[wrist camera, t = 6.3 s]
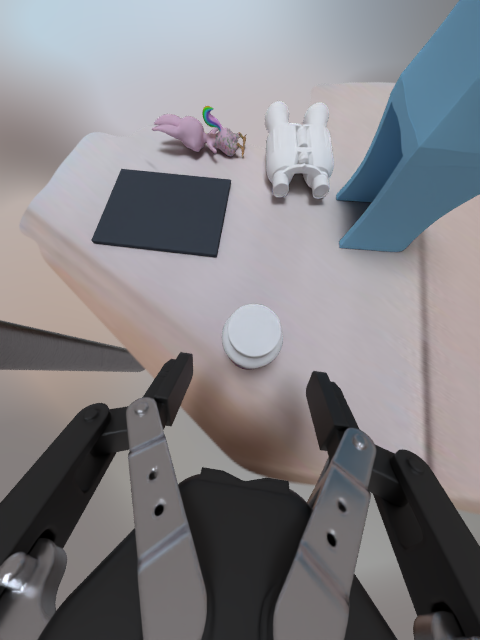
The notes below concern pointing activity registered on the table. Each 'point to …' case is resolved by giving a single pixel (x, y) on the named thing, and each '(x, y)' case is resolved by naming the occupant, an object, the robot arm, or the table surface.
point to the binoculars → (298, 149)
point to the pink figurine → (200, 132)
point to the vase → (423, 141)
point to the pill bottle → (252, 336)
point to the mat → (164, 213)
